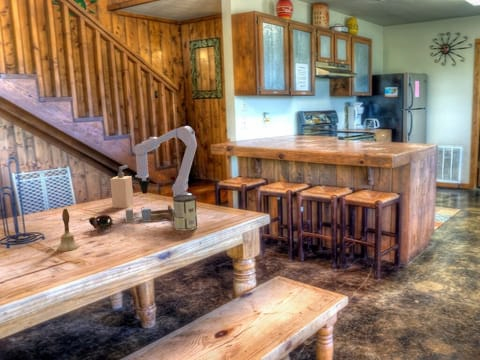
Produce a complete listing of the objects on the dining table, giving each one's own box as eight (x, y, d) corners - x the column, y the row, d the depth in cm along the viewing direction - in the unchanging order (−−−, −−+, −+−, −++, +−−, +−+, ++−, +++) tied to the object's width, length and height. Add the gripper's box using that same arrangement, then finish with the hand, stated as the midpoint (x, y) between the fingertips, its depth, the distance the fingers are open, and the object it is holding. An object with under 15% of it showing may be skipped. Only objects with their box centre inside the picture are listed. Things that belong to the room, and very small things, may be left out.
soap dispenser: (126, 207, 241) (123, 168, 238) (112, 207, 243) (109, 168, 239) (136, 202, 254) (134, 164, 250) (123, 202, 255) (120, 164, 252)
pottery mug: (118, 228, 204) (117, 215, 198) (108, 242, 196) (107, 229, 191) (94, 221, 205) (92, 208, 200) (83, 235, 198) (81, 222, 193)
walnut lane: (170, 214, 223) (170, 205, 222) (173, 219, 215) (172, 209, 214) (149, 216, 220) (148, 207, 220) (151, 221, 212) (150, 211, 211)
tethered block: (150, 217, 218) (150, 207, 217) (151, 220, 214) (151, 209, 213) (126, 220, 215) (125, 209, 214) (126, 222, 211) (125, 211, 210)
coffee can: (182, 223, 206) (180, 194, 203) (201, 225, 202) (200, 195, 199) (170, 229, 197) (168, 198, 194) (189, 231, 192) (188, 200, 190)
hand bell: (72, 243, 181) (68, 205, 179) (83, 247, 176) (79, 208, 173) (53, 248, 175) (48, 209, 172) (64, 252, 170) (59, 212, 167)
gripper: (133, 165, 236) (135, 190, 238) (135, 169, 222) (137, 195, 224) (147, 164, 238) (148, 189, 240) (149, 168, 224) (151, 194, 226)
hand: (144, 192), depth 232 cm, fingers open, 7 cm apart
